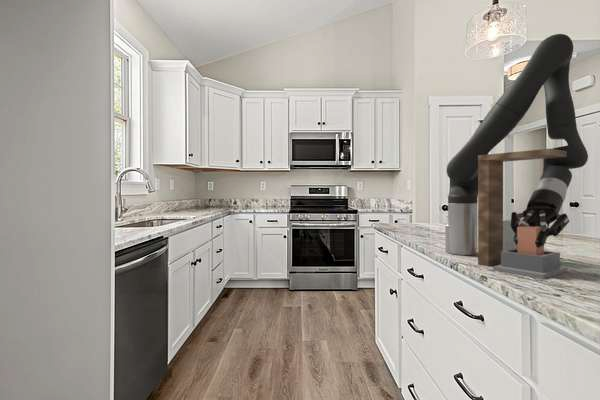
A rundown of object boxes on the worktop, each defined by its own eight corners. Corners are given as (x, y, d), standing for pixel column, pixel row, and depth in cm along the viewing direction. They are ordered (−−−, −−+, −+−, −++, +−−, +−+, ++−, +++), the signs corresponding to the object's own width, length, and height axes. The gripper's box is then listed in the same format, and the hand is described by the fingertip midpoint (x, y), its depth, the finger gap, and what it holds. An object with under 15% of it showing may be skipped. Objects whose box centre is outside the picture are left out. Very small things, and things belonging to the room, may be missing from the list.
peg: (517, 260, 95) (517, 227, 95) (525, 258, 97) (525, 225, 97) (536, 263, 91) (535, 228, 91) (544, 261, 94) (543, 227, 94)
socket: (493, 270, 96) (493, 251, 95) (518, 264, 103) (518, 246, 103) (543, 278, 86) (543, 258, 85) (567, 271, 93) (567, 252, 93)
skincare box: (508, 255, 117) (508, 219, 117) (522, 257, 114) (523, 220, 114) (502, 258, 113) (502, 220, 112) (517, 260, 110) (517, 221, 109)
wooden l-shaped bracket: (476, 264, 103) (476, 155, 102) (494, 261, 108) (494, 157, 108) (548, 277, 87) (549, 148, 87) (565, 271, 93) (566, 151, 92)
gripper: (515, 188, 104) (494, 232, 98) (574, 187, 92) (553, 237, 86) (524, 206, 107) (504, 250, 101) (582, 207, 95) (563, 257, 89)
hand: (527, 244), depth 93 cm, fingers closed on peg, 4 cm apart
